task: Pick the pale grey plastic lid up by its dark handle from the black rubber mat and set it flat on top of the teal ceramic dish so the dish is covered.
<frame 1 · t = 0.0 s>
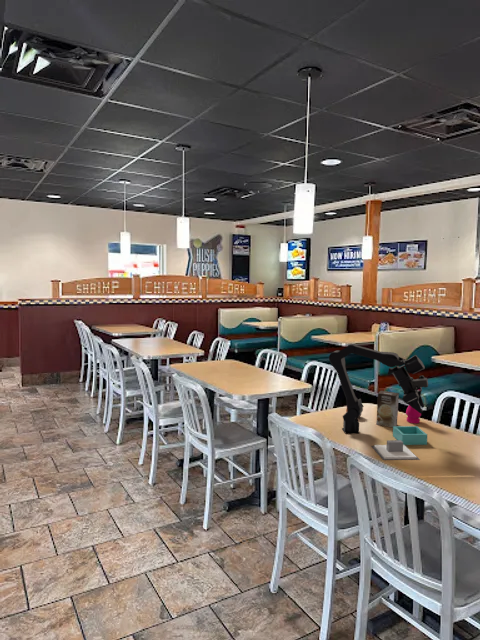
hand: (422, 410, 199), 15 cm above the table, tool tilted 35°, fingers open, 9 cm apart
mat: (394, 453, 188), on the table
fruit: (354, 417, 236), on the table
pepper mill: (413, 422, 229), on the table
dish: (409, 441, 202), on the table
coffee box: (386, 424, 225), on the table
lid: (394, 452, 188), resting on mat
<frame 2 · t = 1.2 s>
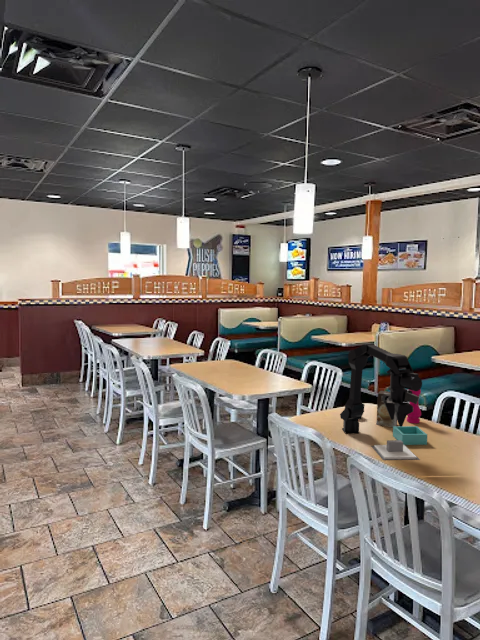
hand: (396, 422, 186), 13 cm above the table, tool pointing down, fingers open, 9 cm apart
nothing on the table moved.
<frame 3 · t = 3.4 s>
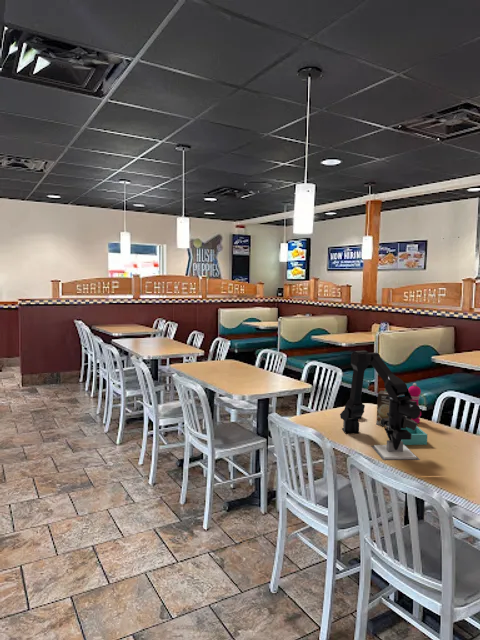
hand: (394, 448, 187), 2 cm above the table, tool pointing down, fingers closed on lid, 2 cm apart
lid: (394, 452, 188), resting on mat, touching gripper
everything else where it was.
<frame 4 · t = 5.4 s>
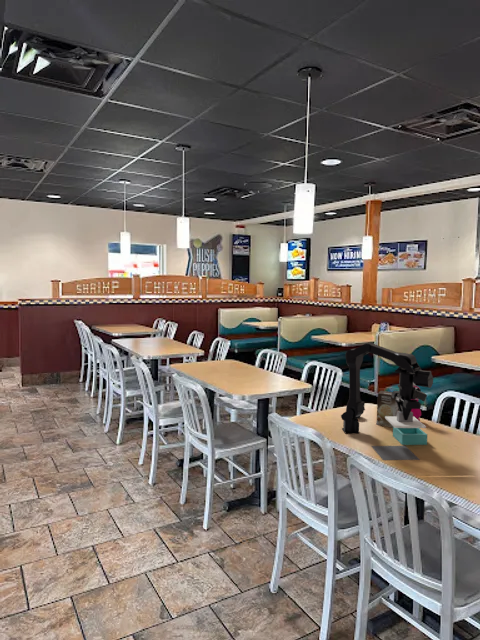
hand: (404, 419, 195), 12 cm above the table, tool pointing down, fingers closed on lid, 2 cm apart
lid: (404, 422, 195), point 10 cm above the table, touching gripper
everything else where it was.
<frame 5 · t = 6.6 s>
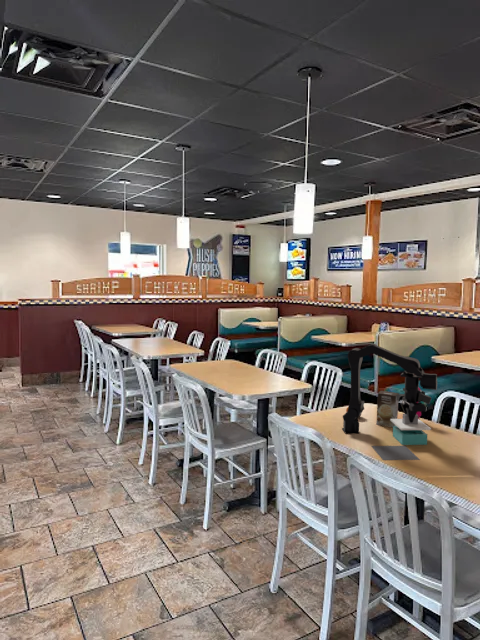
hand: (410, 421, 201), 9 cm above the table, tool pointing down, fingers closed on lid, 2 cm apart
lid: (409, 425, 201), point 7 cm above the table, touching gripper
everything else where it was.
when the fingers open (8 cm above the table, at t = 7.5 s): lid stays where it is, resting on dish.
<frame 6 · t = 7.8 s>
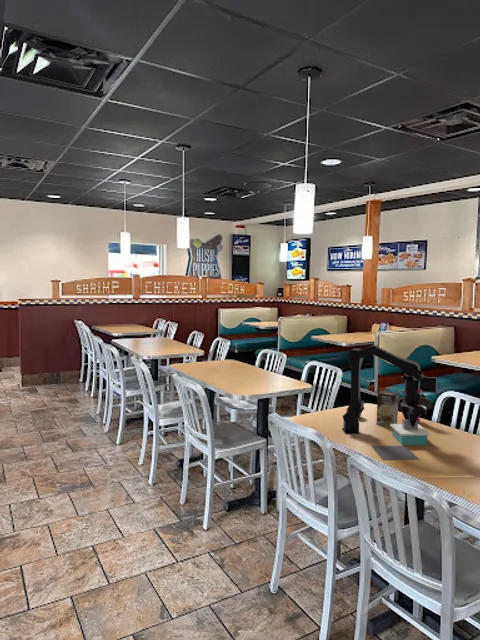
hand: (410, 424, 201), 8 cm above the table, tool pointing down, fingers open, 6 cm apart
lid: (409, 430, 201), point 5 cm above the table, touching dish
everything else where it was.
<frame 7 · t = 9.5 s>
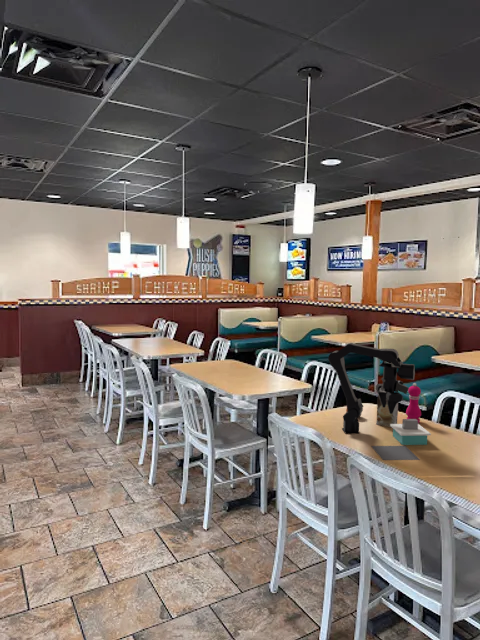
hand: (387, 410, 206), 13 cm above the table, tool pointing down, fingers open, 9 cm apart
nothing on the table moved.
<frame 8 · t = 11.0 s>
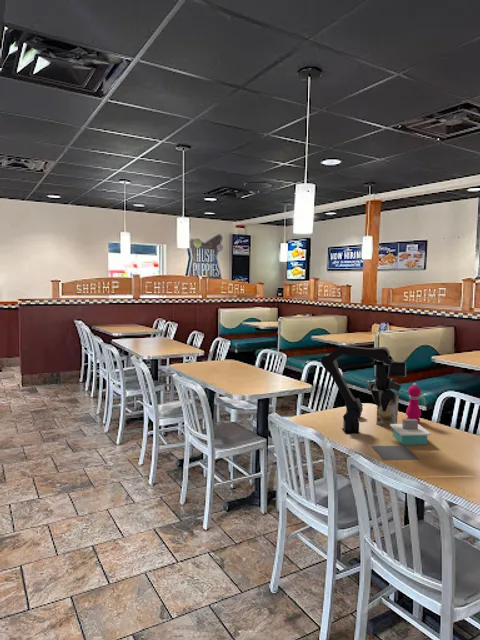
hand: (380, 408, 207), 13 cm above the table, tool pointing down, fingers open, 9 cm apart
nothing on the table moved.
at the end: lid 0.0 cm off-centre on the dish, point 5.0 cm above the dish's base; lid tilted 0°; the gripper is holding nothing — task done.
